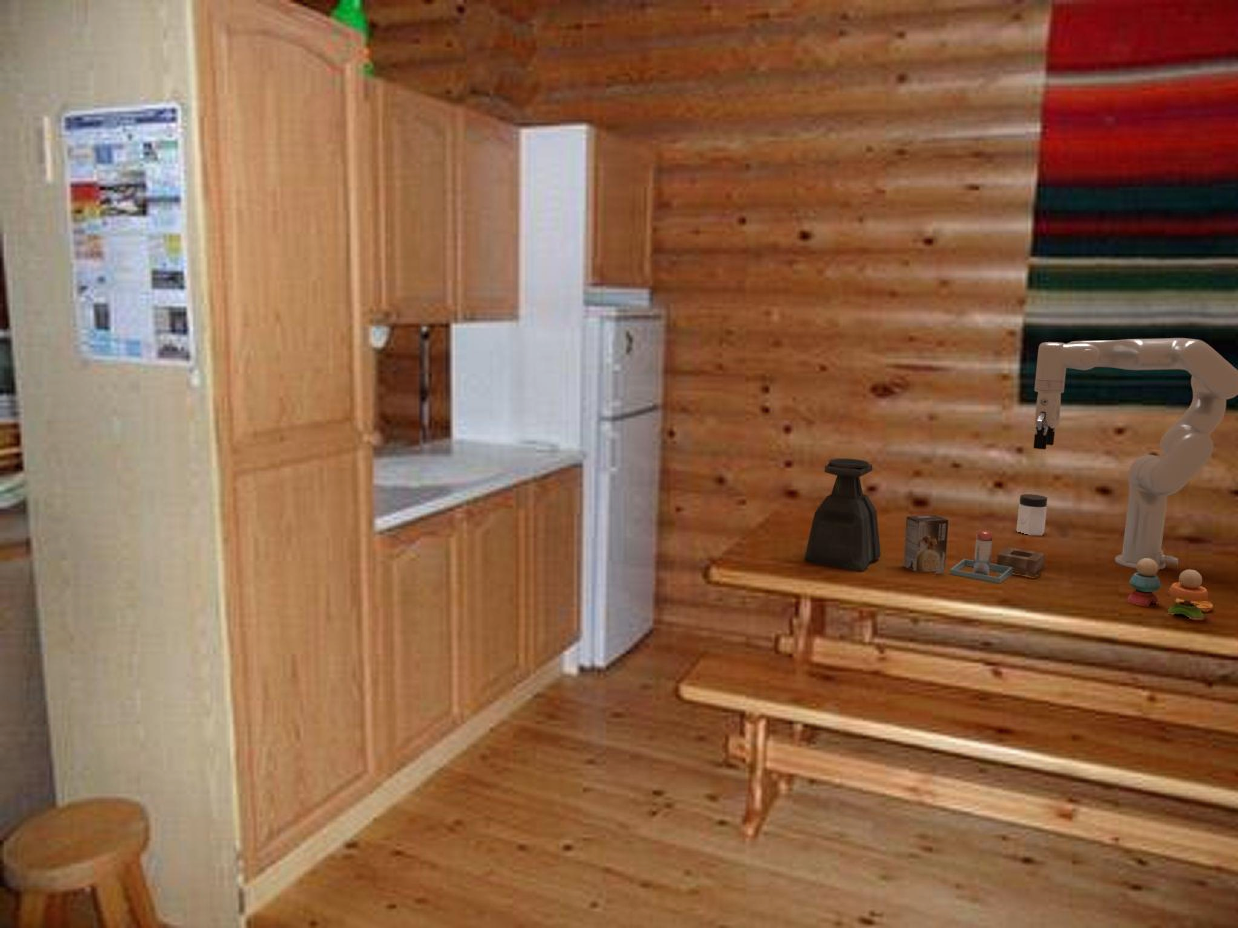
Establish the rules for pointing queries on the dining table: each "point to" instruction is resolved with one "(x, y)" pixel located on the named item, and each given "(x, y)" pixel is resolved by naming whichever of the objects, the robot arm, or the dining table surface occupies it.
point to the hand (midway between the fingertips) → (1043, 446)
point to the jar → (1032, 514)
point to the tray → (999, 569)
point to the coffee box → (926, 543)
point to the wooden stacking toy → (1182, 590)
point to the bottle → (845, 521)
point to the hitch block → (1021, 561)
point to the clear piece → (983, 552)
